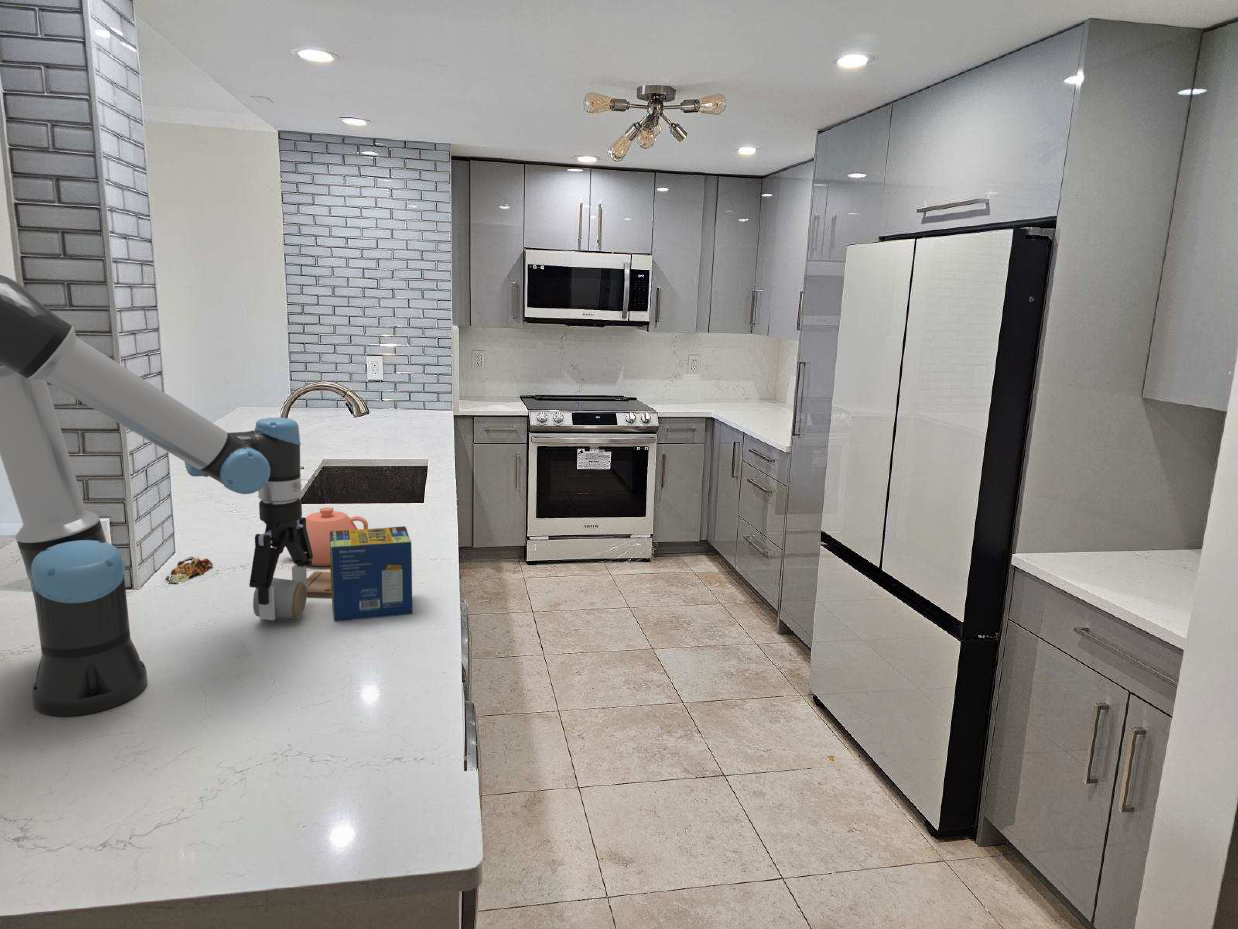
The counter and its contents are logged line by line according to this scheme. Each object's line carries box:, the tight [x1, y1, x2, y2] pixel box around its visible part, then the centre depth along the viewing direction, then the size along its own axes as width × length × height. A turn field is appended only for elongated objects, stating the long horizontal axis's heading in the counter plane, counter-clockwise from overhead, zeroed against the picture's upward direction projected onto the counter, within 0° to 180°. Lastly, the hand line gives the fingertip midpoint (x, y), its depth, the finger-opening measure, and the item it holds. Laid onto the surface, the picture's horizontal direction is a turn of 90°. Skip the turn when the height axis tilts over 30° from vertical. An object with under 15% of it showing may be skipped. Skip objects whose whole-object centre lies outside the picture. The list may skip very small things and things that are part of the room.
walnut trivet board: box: [307, 571, 332, 599], centre depth 173 cm, size 12×8×2 cm, turn 1°
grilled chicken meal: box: [164, 556, 214, 584], centre depth 177 cm, size 7×12×4 cm, turn 4°
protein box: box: [330, 525, 413, 622], centre depth 162 cm, size 10×15×16 cm
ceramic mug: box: [252, 577, 308, 619], centre depth 157 cm, size 11×8×8 cm
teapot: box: [304, 506, 369, 567], centre depth 190 cm, size 22×16×12 cm
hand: (284, 607), depth 157 cm, fingers closed on ceramic mug, 11 cm apart
